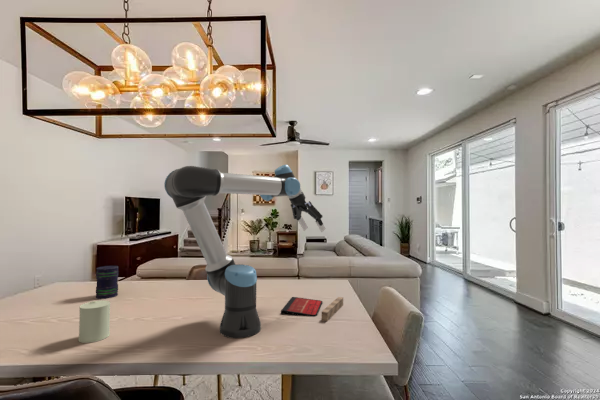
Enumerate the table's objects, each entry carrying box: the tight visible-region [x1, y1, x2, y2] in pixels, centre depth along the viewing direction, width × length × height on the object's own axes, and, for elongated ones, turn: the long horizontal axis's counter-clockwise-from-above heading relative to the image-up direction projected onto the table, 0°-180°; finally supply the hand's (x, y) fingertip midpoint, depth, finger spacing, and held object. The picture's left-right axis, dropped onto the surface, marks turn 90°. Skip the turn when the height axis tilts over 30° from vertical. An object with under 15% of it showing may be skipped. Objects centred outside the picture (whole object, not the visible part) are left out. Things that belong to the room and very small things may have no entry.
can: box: [78, 300, 111, 344], centre depth 106 cm, size 9×9×12 cm
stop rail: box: [321, 296, 344, 322], centre depth 133 cm, size 23×2×4 cm, turn 155°
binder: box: [280, 296, 323, 317], centre depth 139 cm, size 16×2×21 cm
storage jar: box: [95, 265, 120, 300], centre depth 156 cm, size 10×10×15 cm
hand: (314, 229), depth 153 cm, fingers open, 13 cm apart
